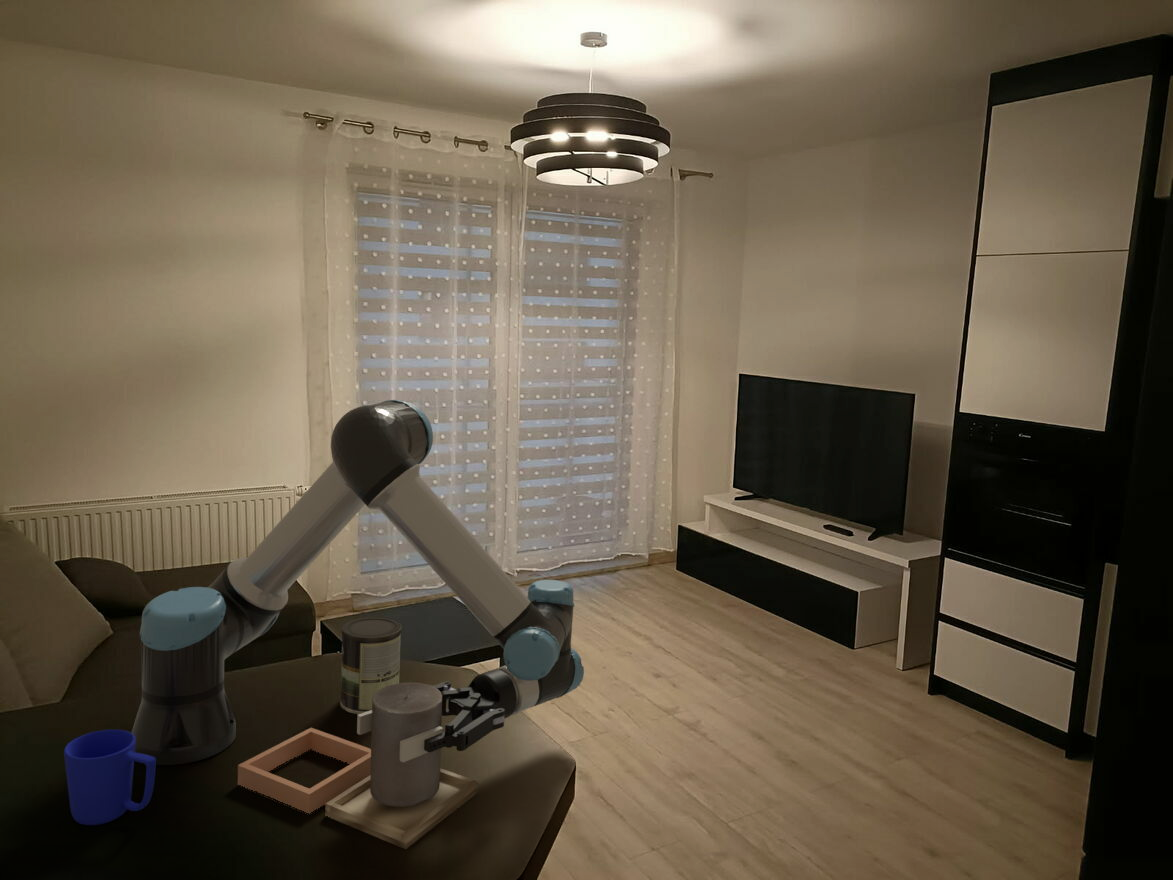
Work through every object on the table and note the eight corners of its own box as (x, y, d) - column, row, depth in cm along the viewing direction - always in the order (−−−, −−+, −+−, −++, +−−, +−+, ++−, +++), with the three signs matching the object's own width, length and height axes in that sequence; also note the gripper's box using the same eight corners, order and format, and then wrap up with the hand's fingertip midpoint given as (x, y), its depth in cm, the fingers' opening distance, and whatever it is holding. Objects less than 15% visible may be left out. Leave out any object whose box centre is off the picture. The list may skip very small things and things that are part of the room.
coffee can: (329, 711, 145) (331, 633, 143) (354, 687, 155) (356, 614, 153) (386, 718, 143) (389, 639, 142) (407, 693, 153) (410, 620, 152)
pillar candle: (380, 768, 123) (382, 671, 121) (446, 772, 122) (449, 675, 120) (361, 805, 113) (362, 701, 111) (432, 810, 113) (435, 705, 111)
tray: (325, 815, 114) (325, 803, 114) (401, 765, 128) (402, 754, 128) (405, 849, 108) (406, 836, 107) (477, 793, 122) (477, 781, 122)
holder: (237, 784, 120) (237, 765, 120) (310, 745, 133) (311, 727, 132) (308, 814, 114) (309, 794, 114) (378, 770, 126) (379, 751, 126)
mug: (130, 842, 106) (130, 768, 105) (50, 826, 108) (48, 753, 107) (174, 807, 114) (174, 738, 113) (98, 793, 116) (97, 725, 115)
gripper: (551, 740, 123) (428, 797, 106) (456, 692, 138) (335, 735, 121) (554, 692, 122) (430, 741, 105) (458, 648, 137) (336, 685, 120)
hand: (379, 738), depth 113 cm, fingers closed on pillar candle, 9 cm apart
